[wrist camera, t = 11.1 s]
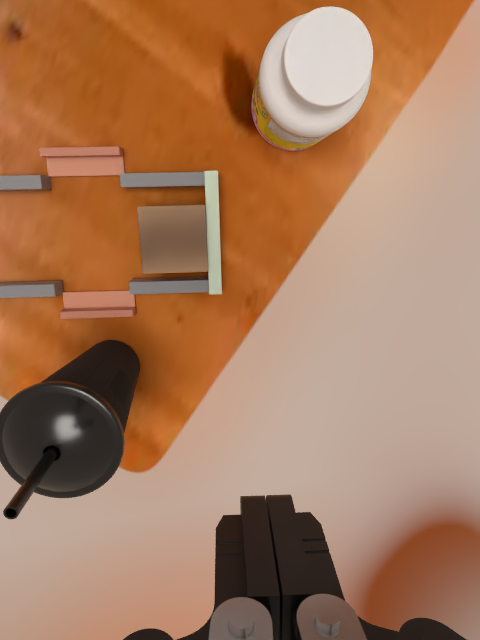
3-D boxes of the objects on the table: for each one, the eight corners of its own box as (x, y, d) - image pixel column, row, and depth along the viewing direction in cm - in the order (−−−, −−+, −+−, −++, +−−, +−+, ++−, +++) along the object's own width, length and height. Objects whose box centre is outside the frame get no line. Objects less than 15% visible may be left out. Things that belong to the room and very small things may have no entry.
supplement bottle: (273, 45, 34) (302, -46, 22) (348, 86, 35) (417, 21, 23) (236, 130, 36) (244, 89, 23) (309, 167, 37) (355, 147, 24)
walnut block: (145, 206, 37) (137, 206, 33) (206, 204, 37) (204, 204, 33) (150, 266, 38) (142, 273, 34) (209, 264, 38) (207, 271, 35)
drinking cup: (79, 313, 39) (-61, 418, 19) (165, 338, 40) (112, 463, 20) (60, 392, 41) (-87, 561, 21) (142, 414, 41) (73, 596, 22)
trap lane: (-44, 151, 35) (-59, 148, 33) (204, 147, 36) (203, 144, 34) (-16, 317, 39) (-29, 322, 37) (210, 310, 39) (210, 315, 37)
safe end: (205, 173, 36) (204, 170, 34) (218, 173, 36) (217, 170, 34) (210, 287, 39) (209, 294, 36) (221, 287, 39) (221, 293, 36)
